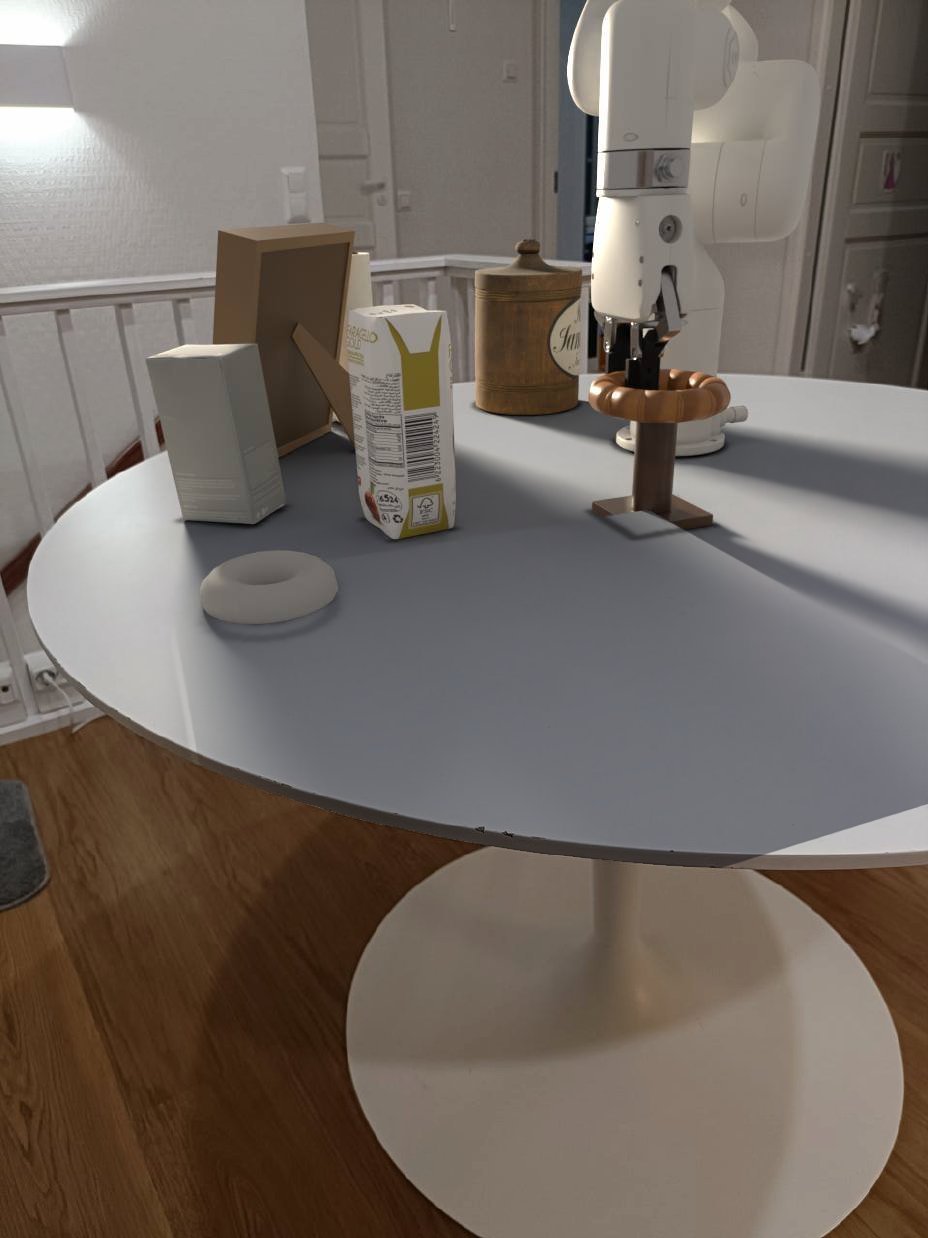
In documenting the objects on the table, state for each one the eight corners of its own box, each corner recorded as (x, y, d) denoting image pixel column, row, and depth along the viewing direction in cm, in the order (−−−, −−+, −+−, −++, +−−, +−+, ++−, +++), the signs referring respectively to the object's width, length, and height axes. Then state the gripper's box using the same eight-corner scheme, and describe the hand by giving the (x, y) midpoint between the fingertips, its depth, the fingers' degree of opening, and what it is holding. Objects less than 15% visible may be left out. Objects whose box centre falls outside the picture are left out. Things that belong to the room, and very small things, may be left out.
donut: (342, 581, 70) (215, 586, 70) (339, 541, 69) (209, 545, 68) (336, 638, 61) (190, 644, 61) (332, 592, 60) (183, 598, 59)
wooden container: (584, 414, 120) (589, 239, 110) (475, 417, 120) (471, 242, 111) (573, 392, 133) (577, 234, 124) (475, 394, 134) (472, 237, 124)
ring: (677, 390, 84) (680, 362, 83) (756, 416, 74) (760, 385, 73) (565, 402, 81) (566, 373, 79) (632, 432, 70) (634, 399, 69)
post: (664, 499, 86) (672, 386, 81) (712, 524, 79) (724, 402, 75) (591, 511, 84) (595, 394, 79) (634, 538, 77) (642, 412, 72)
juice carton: (389, 545, 77) (374, 317, 69) (354, 517, 84) (336, 307, 76) (465, 529, 80) (460, 310, 72) (425, 504, 87) (416, 301, 79)
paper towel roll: (389, 417, 121) (378, 250, 112) (362, 427, 117) (348, 253, 108) (348, 412, 125) (335, 250, 116) (320, 421, 120) (304, 253, 111)
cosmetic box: (287, 506, 87) (268, 341, 81) (249, 530, 81) (224, 354, 75) (215, 499, 90) (189, 339, 83) (172, 522, 84) (141, 351, 77)
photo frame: (208, 474, 99) (169, 230, 88) (302, 428, 117) (280, 223, 106) (325, 483, 94) (301, 228, 83) (405, 435, 112) (393, 220, 102)
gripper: (740, 172, 67) (717, 412, 75) (632, 178, 81) (622, 380, 89) (655, 174, 65) (641, 422, 73) (558, 180, 79) (555, 387, 87)
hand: (630, 397), depth 81 cm, fingers closed on ring, 2 cm apart
